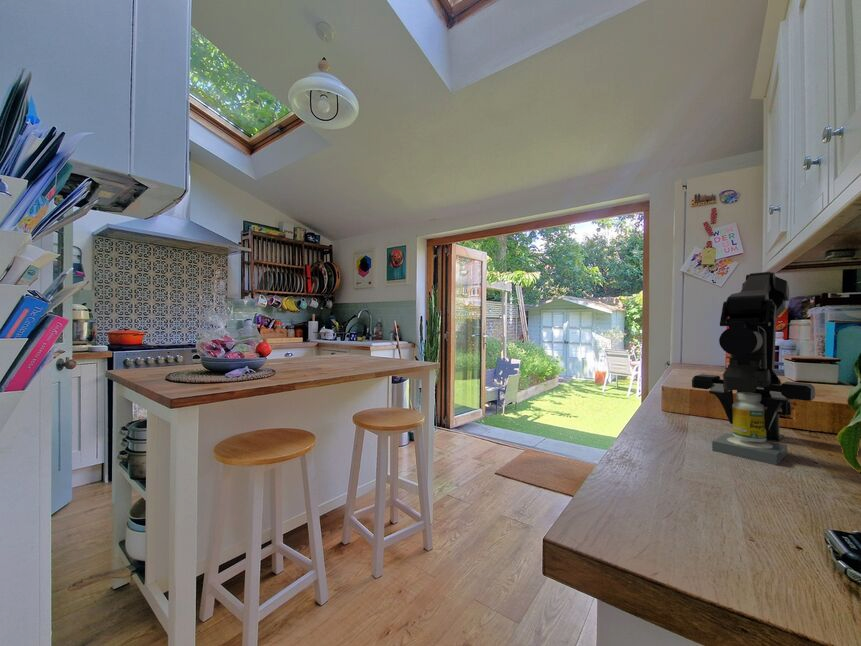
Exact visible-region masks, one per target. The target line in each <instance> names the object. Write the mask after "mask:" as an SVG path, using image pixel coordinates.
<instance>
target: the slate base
mask: <svg viewBox="0 0 861 646" xmlns="http://www.w3.org/2000/svg"><path fill="white" fill-rule="evenodd" d="M711 447H712V449H711V450H712V451H714V452H719V453H723V454H727V455H732V456H735V457H739V458H744V459H748V460H752V461H756V462H757V461H758V462H762V463H765V464H771V465H773V466H774V465H775V466H778V464H780V462H781V461H782V460H783V459H784V458H786V456H787V455H788V444H786V443H780V442H776V441H771V440H766V441H764V442H753V441H746V440H742V439H739V438H736V437H735V436H734V435H733V433H727V432H726V433H724V434H722V435H721V436H718V437H717V438H714V439H713V440H712V441H711Z"/></svg>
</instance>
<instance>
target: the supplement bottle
mask: <svg viewBox="0 0 861 646" xmlns="http://www.w3.org/2000/svg"><path fill="white" fill-rule="evenodd" d="M735 398H736V401H733V404H732V416H733V424H732V434H733V435H734V436H735V437H736V438H739V439H742V440H746V441H753V442H764V441H767V439H766V430H765V419H766V408H765V406H764V405H762V404H760V401H761V400H762V399H761V394H757V393H748V392H737V391H736V392H735Z"/></svg>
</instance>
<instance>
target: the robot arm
mask: <svg viewBox="0 0 861 646" xmlns="http://www.w3.org/2000/svg"><path fill="white" fill-rule="evenodd" d="M741 286H742V287H741V291H740V292H735V293H731V294H730V295H729V296H728V297H727V298H726V301H723V303H722V309H721V314H720V321H719V327H728V328H726V329H725V330H724V331H723V332H722V333H721V334H720V336H719V339H718V343H719V345H720V347H721V349H722V350H723V351H724V352H726V353H727V354H729V355H730V357H729V361H728V363H729V364H728V366H727V368H726V369H725V371H724V372H723V374H722V379H721V375H714V374H704V373H701V374H696V375H694V376H693V377H692V379H691V388H693V389H699V390H701V389H702V390H709V391H708V393H709V394H711V395H714V396H715V397H716V398H717V399H718V400H719V403H720V404H721V406H722V408H723V409H724V412H725V415H726V417H727V419H728V421H729V423H730V424H731V425H733V416H732V404H733V403H734V394H733V393H734V392H733V391H736V392H748V393H757V394H761V399H762V400H761V401H760V404H762V405H764V406H765V408H766V419H765V430H766V441H771V442H781V440H783V439H784V438H785V435H784V434H780V416H781V415H782V416H791V415H792V406H791V404H792V403H791V402H792V401H793V400H795V401H805V402H812V401H813V400H814V399H816V389H815V386H814V385H813V384H811V383H806V382H797V381H796V382H795V381H784V382H782V381H781V378H779V377H778V375H777V374H776V373H775V356H776V355H775V354H776V336H777V335H776V333H777V332H776V331H777V327H776V326H777V318H779V316H780V315H781V314H782V313H783V312H784V311H785V310H786V305H787V304H786V303H787V302H789V301H790V286H789V284H788V281H787V280H785V279H784V278H781V277H778V276H776V273H775V272H772V271H763V272H761V271H760V272H752V273H749V274H746V275H745V281H744V282H743V283H742V285H741Z"/></svg>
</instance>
